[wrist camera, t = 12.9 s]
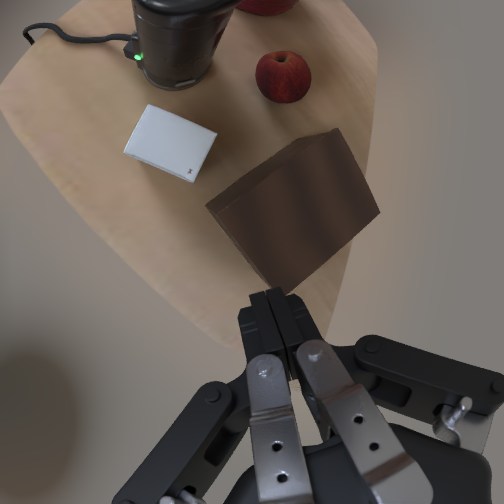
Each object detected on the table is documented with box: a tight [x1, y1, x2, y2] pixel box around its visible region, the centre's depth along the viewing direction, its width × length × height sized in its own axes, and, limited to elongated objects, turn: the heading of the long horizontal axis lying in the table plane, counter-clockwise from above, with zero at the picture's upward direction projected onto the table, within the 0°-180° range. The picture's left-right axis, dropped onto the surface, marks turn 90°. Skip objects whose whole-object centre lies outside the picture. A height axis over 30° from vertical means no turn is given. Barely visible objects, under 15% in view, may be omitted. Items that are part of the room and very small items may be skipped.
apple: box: [256, 51, 311, 104], centre depth 31 cm, size 7×8×8 cm
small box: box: [124, 104, 217, 183], centre depth 29 cm, size 8×6×10 cm
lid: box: [216, 128, 380, 295], centre depth 31 cm, size 18×13×1 cm
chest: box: [205, 132, 328, 289], centre depth 36 cm, size 17×13×9 cm
